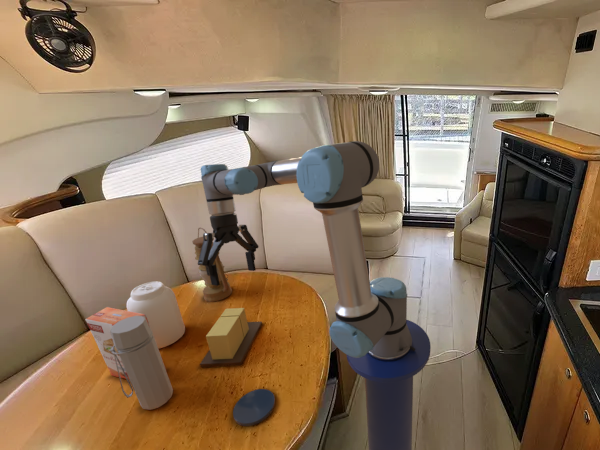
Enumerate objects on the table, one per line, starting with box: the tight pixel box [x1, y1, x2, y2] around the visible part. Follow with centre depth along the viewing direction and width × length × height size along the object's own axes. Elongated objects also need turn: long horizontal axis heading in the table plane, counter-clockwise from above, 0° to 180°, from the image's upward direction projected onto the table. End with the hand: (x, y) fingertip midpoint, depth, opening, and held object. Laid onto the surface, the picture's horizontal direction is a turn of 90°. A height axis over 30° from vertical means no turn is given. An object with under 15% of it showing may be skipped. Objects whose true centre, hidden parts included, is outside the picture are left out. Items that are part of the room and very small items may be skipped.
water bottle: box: [110, 316, 174, 411], centre depth 79 cm, size 9×8×25 cm
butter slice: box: [220, 307, 249, 337], centre depth 105 cm, size 6×4×9 cm, turn 94°
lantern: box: [192, 227, 233, 303], centre depth 125 cm, size 15×10×30 cm
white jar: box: [126, 280, 186, 350], centre depth 103 cm, size 12×12×20 cm
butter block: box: [205, 316, 244, 360], centre depth 98 cm, size 6×9×9 cm, turn 4°
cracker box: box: [85, 306, 167, 381], centre depth 88 cm, size 14×6×21 cm, turn 76°
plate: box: [232, 388, 276, 427], centre depth 82 cm, size 10×10×1 cm
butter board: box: [199, 321, 263, 368], centre depth 103 cm, size 12×19×1 cm, turn 4°
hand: (235, 277), depth 103 cm, fingers open, 13 cm apart
